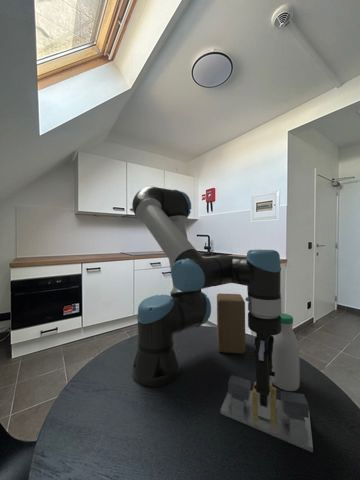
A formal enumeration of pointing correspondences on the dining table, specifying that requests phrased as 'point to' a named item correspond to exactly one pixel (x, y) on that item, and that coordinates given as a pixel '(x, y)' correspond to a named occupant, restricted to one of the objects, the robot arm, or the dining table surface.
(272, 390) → the gold cube-like block
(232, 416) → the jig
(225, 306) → the wooden block
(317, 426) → the dining table surface
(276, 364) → the milk bottle
